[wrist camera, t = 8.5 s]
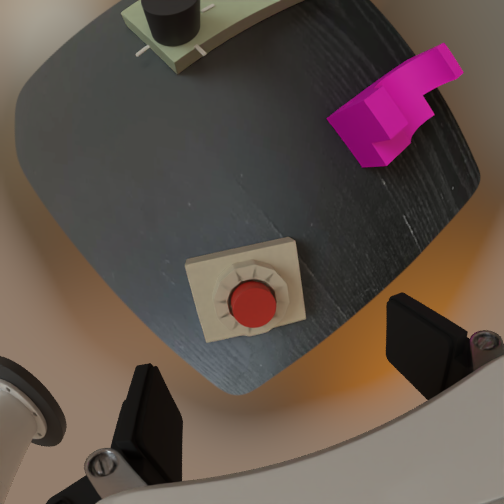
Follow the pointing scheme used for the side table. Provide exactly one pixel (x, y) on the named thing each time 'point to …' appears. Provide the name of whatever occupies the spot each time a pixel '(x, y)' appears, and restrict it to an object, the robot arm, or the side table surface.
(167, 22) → the timer dial
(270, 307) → the power button
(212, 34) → the dial panel
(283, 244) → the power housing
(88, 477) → the robot arm
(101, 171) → the side table surface
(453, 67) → the toy block
